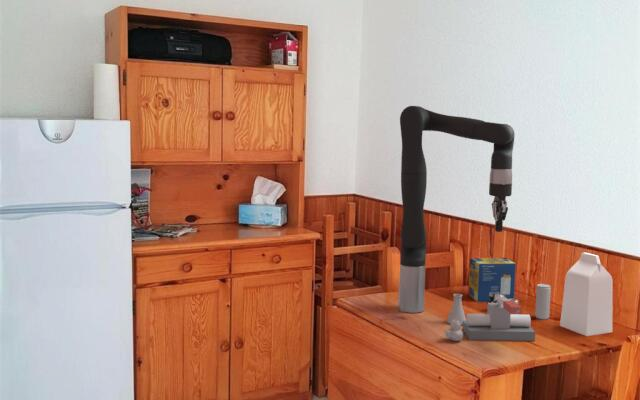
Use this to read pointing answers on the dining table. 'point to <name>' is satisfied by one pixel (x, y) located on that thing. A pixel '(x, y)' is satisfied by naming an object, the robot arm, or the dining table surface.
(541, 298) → the beverage can
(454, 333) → the rubber duck
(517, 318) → the pipe manifold
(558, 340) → the dining table surface
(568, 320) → the milk
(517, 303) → the valve
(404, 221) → the robot arm
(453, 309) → the flask
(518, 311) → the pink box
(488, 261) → the protein box
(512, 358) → the dining table surface
